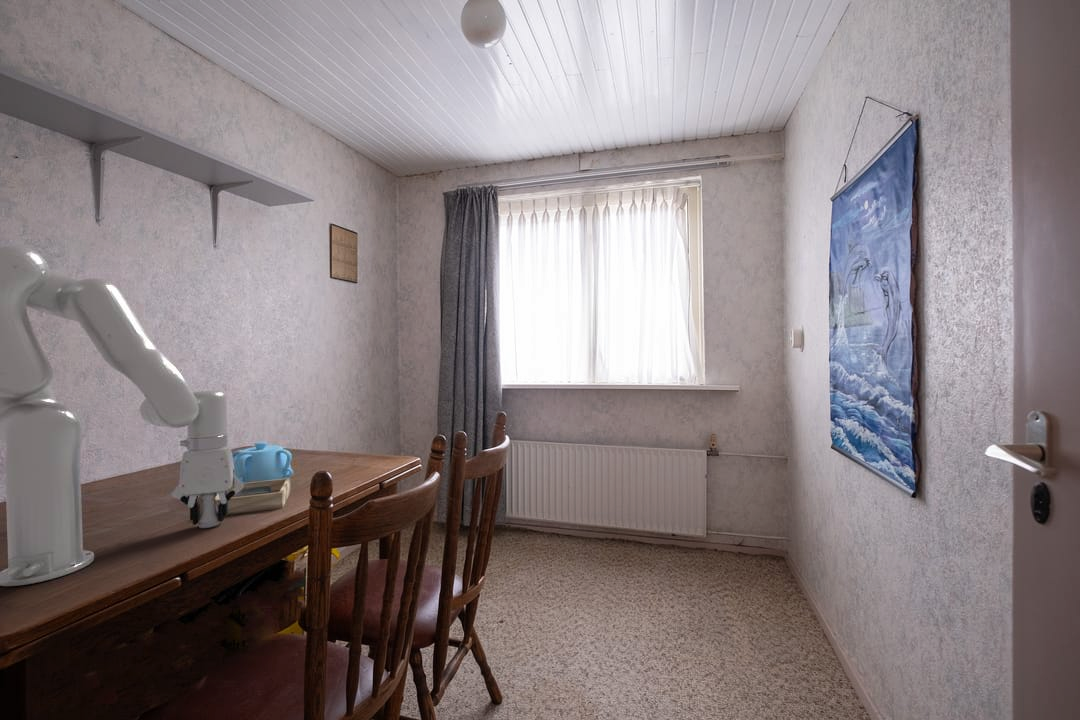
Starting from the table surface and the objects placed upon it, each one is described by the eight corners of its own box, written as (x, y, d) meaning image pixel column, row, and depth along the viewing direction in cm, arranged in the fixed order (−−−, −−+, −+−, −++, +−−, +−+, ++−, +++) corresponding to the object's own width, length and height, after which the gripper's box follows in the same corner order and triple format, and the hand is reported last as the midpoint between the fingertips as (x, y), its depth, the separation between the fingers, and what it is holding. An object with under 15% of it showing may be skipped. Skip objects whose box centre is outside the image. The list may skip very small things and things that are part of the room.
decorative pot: (229, 485, 144) (227, 442, 144) (287, 476, 153) (286, 435, 153) (231, 497, 131) (229, 450, 130) (295, 487, 140) (293, 442, 140)
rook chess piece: (225, 522, 110) (225, 489, 110) (207, 529, 105) (207, 494, 105) (211, 521, 111) (210, 488, 111) (192, 527, 107) (192, 493, 107)
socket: (266, 503, 122) (266, 491, 122) (233, 507, 120) (232, 495, 120) (271, 495, 130) (271, 484, 129) (240, 499, 127) (239, 488, 127)
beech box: (282, 507, 120) (282, 492, 120) (209, 517, 114) (208, 501, 114) (290, 491, 135) (290, 478, 135) (226, 499, 129) (225, 484, 129)
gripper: (157, 449, 102) (158, 532, 102) (246, 443, 108) (247, 521, 108) (169, 444, 108) (171, 521, 109) (252, 438, 115) (254, 511, 115)
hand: (209, 520), depth 108 cm, fingers closed on rook chess piece, 4 cm apart
